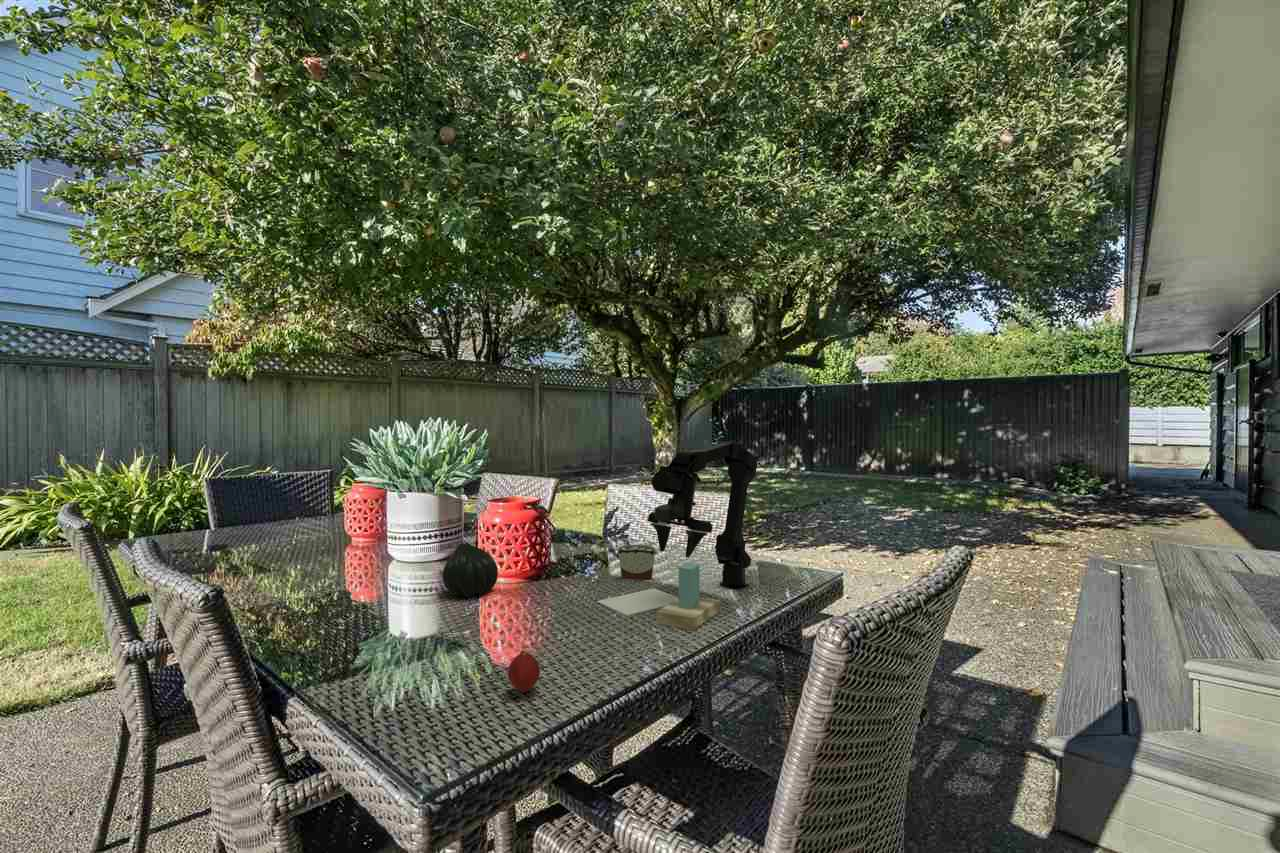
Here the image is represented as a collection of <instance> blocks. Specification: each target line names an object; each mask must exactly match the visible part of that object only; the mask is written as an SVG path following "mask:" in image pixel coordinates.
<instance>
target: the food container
mask: <svg viewBox="0 0 1280 853" xmlns="http://www.w3.org/2000/svg"><path fill="white" fill-rule="evenodd" d="M616 551H617V553H616V555H618V557H619V558H618V560H619V567H620V569H619V570H620V578H621V581H629V579H631V580H652V581H653V573H654V572H653V571H654V565H655V564H654V562H655V557H656V556H657V550H656V548H655V547H654V546H652V545H649V544H626V545H621V546H619V547H618V548H617V550H616ZM624 579H626V580H624Z"/></svg>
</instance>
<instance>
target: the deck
mask: <svg viewBox="0 0 1280 853" xmlns="http://www.w3.org/2000/svg"><path fill="white" fill-rule="evenodd" d="M678 602H679V598H678V599H676V600H675V601H673V602H671V603H670V604H668V605H666V606H665V607H663V608H659V609H657V610H656V624H658V625H662V626H667V627H668V626H669V627H673V628H679V629H683V630H688V631H693V632H695V631H696V630H697V629H699V626H700V627H701V626H703V625H704V624H705V623H706V622H708V621H709V620H710V619H711V617H712V618H713V617H714V616H716V615H717V614H718V613H720V599H714V598H708V597H701V596H699V605H697V606H696V607H694V608H693V609H686V608H680V607H678ZM715 614H716V615H715ZM707 620H708V621H707ZM703 623H704V624H703ZM695 629H696V630H695Z"/></svg>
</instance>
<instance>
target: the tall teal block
mask: <svg viewBox="0 0 1280 853" xmlns="http://www.w3.org/2000/svg"><path fill="white" fill-rule="evenodd" d="M700 567H701V566H700V564H695V563H684V564H683V565H680V566H679V567H678V597H679V602H678V607H680V608H686V609H693V608H694V607H696V606H697V605H699V597H700V578H701V577H700V574H701V573H700V572H701V571H700V570H701V569H700Z"/></svg>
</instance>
